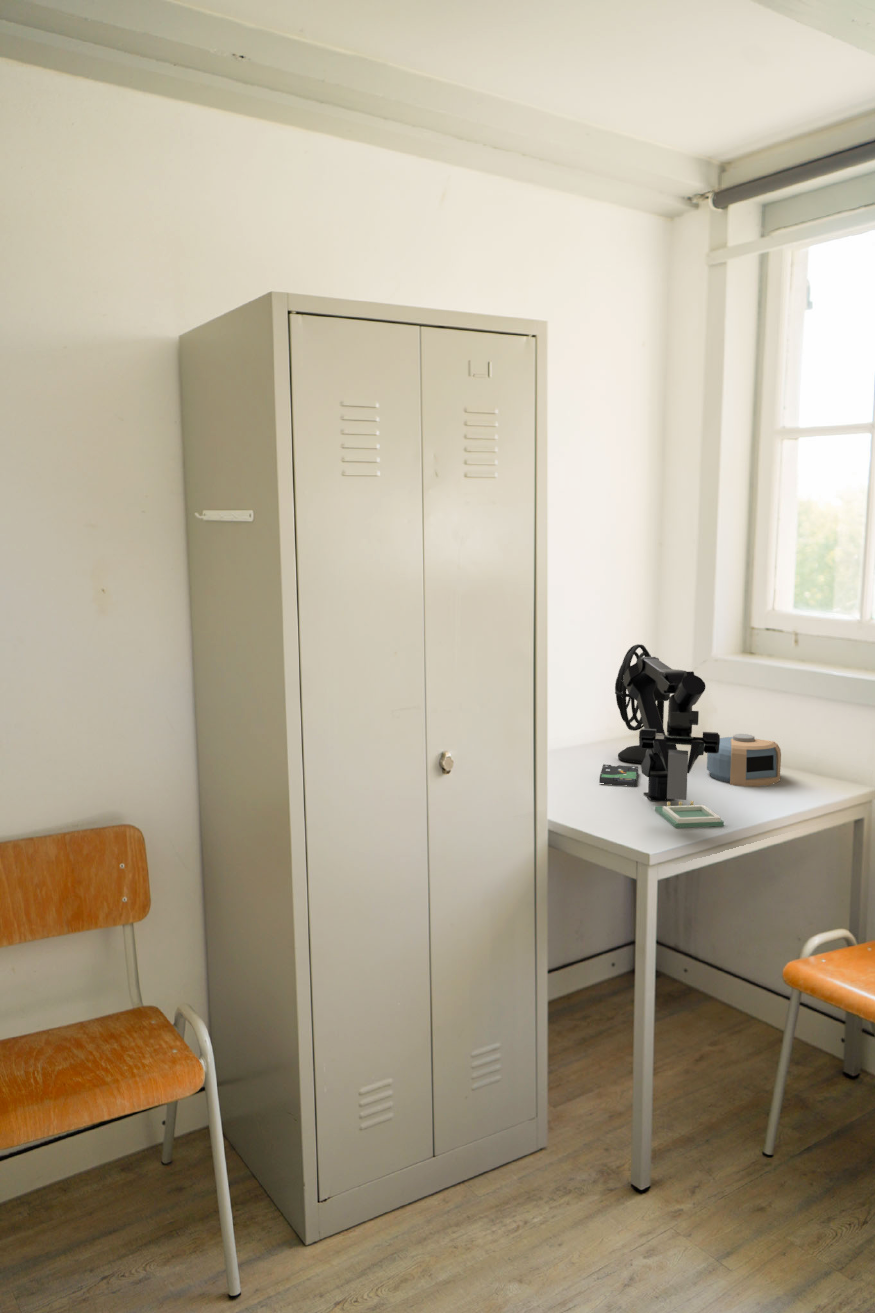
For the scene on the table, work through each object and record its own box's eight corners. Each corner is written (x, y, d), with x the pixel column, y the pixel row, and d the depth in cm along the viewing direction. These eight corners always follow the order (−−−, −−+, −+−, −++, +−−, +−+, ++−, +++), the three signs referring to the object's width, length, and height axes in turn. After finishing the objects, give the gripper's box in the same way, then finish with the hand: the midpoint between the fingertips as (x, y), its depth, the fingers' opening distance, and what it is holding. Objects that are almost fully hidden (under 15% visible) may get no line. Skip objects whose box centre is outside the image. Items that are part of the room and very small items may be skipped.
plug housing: (667, 793, 230) (668, 749, 228) (686, 795, 229) (688, 750, 227) (666, 798, 226) (668, 754, 224) (686, 800, 225) (688, 755, 223)
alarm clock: (734, 789, 260) (736, 745, 258) (693, 771, 278) (694, 730, 277) (793, 783, 266) (795, 740, 264) (748, 766, 284) (750, 726, 283)
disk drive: (602, 773, 278) (599, 786, 264) (602, 764, 278) (599, 776, 263) (638, 775, 276) (637, 788, 262) (638, 766, 276) (637, 778, 261)
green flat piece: (654, 810, 239) (655, 800, 239) (700, 808, 241) (701, 799, 240) (675, 827, 226) (675, 817, 225) (723, 825, 227) (724, 815, 227)
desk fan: (629, 745, 311) (632, 639, 307) (683, 751, 303) (687, 642, 298) (603, 763, 288) (605, 648, 283) (660, 770, 279) (664, 651, 275)
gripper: (640, 695, 229) (636, 752, 221) (721, 699, 225) (720, 757, 216) (641, 720, 238) (637, 775, 230) (718, 724, 234) (718, 780, 225)
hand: (677, 771), depth 225 cm, fingers closed on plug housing, 4 cm apart
